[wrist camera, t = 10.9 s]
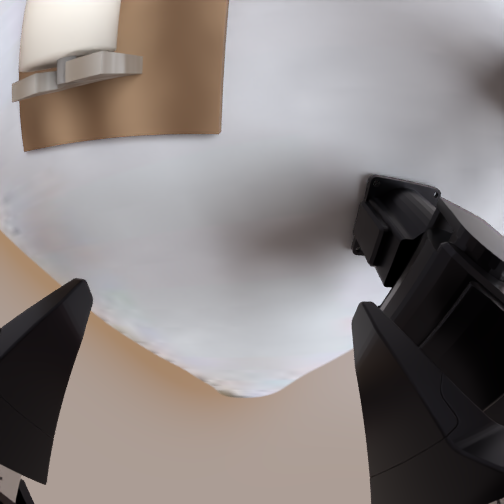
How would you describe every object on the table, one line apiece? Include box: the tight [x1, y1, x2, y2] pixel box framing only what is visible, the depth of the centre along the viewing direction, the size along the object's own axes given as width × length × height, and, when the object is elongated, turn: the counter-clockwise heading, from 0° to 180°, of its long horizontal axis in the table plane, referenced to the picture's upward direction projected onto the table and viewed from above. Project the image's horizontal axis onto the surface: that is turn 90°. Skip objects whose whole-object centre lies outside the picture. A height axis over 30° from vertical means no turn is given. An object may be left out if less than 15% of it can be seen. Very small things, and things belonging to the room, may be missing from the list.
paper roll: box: [19, 0, 121, 84], centre depth 7 cm, size 6×11×6 cm, turn 177°
